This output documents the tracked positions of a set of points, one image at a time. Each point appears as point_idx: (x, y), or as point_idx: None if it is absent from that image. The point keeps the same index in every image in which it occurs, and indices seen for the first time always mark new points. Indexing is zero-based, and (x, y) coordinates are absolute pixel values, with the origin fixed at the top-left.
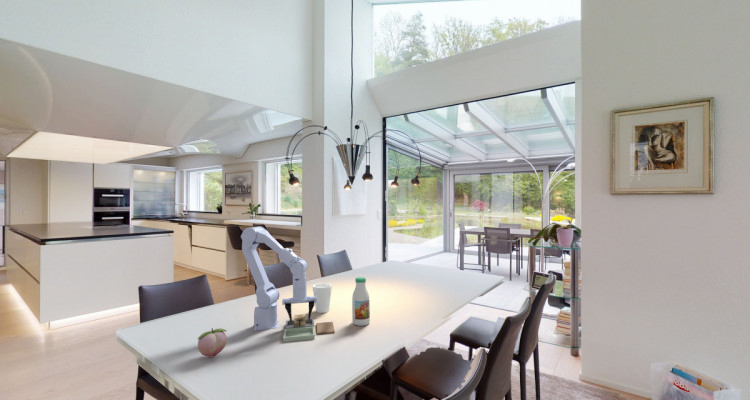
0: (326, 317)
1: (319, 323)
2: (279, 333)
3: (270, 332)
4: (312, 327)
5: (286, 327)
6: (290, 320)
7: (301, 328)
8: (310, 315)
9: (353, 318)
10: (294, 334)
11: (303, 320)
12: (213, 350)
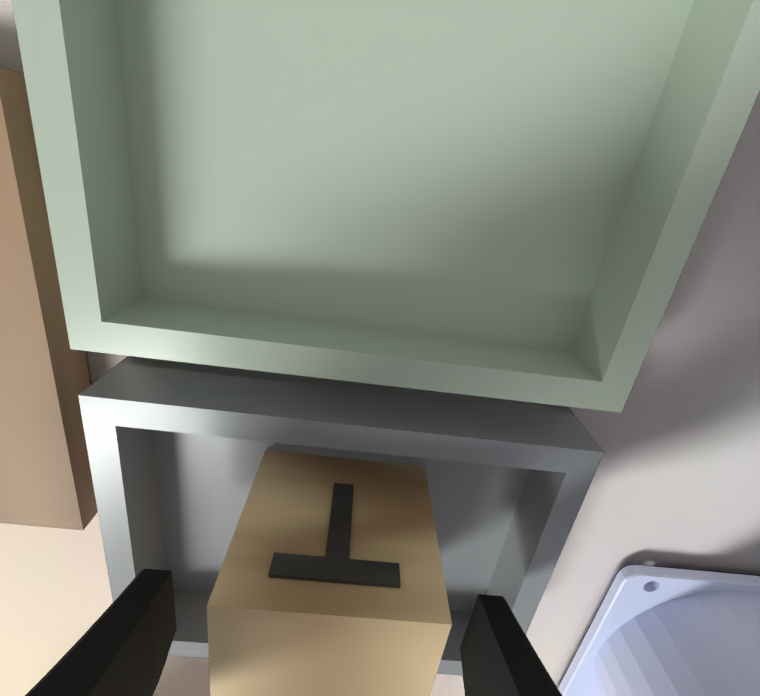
0: (7, 677)
1: (28, 502)
2: (638, 420)
3: (728, 488)
4: (105, 318)
5: (570, 470)
6: (505, 612)
7: (325, 346)
8: (69, 651)
9: None
10: (457, 266)
11: (262, 553)
12: None
